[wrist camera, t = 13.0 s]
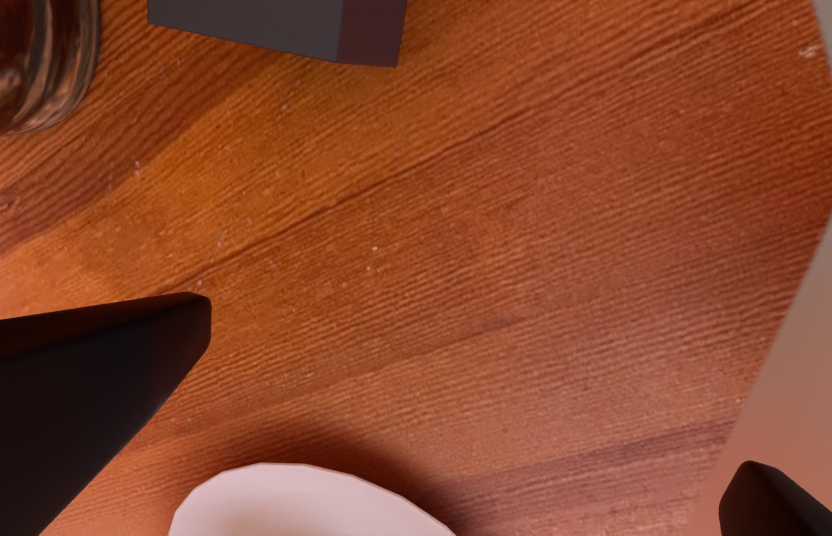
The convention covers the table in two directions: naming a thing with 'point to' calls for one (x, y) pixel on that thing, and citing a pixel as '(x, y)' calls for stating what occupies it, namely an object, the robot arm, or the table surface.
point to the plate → (298, 505)
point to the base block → (295, 26)
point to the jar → (45, 61)
